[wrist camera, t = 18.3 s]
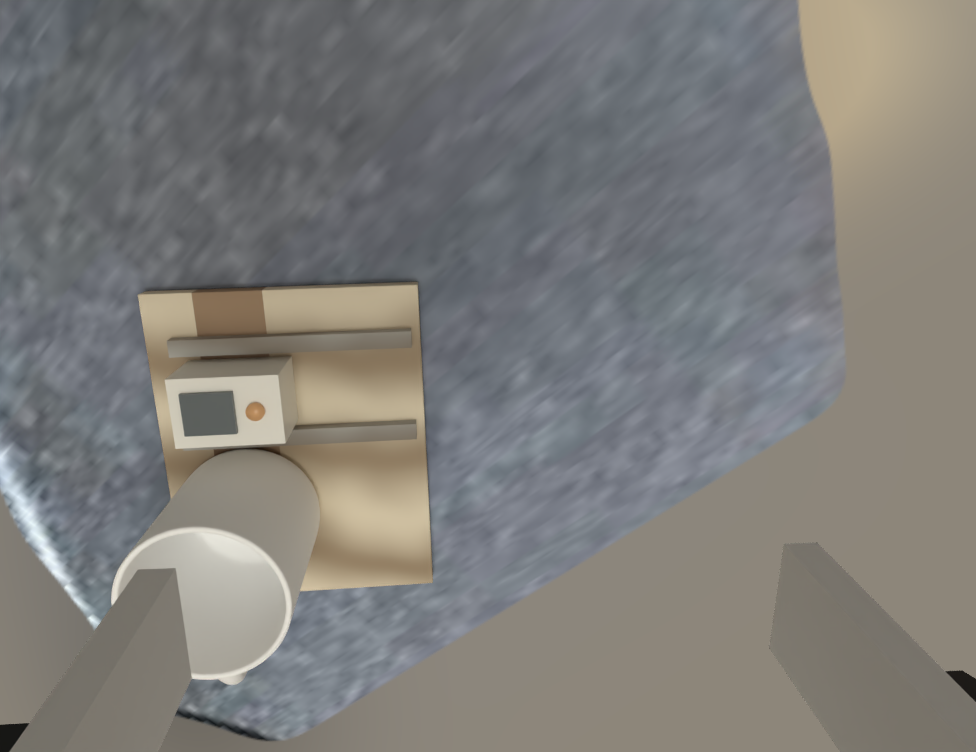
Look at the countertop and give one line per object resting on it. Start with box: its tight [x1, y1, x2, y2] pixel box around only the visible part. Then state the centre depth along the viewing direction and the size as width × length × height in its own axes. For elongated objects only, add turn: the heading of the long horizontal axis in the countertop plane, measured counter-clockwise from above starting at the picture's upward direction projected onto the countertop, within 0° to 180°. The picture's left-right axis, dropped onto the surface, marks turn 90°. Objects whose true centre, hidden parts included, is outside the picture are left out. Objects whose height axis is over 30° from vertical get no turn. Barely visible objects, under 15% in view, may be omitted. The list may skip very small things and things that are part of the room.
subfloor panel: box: [138, 282, 433, 591], centre depth 45 cm, size 20×16×2 cm
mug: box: [111, 449, 320, 685], centre depth 41 cm, size 9×12×11 cm
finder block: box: [165, 356, 298, 449], centre depth 41 cm, size 4×6×4 cm, turn 91°
